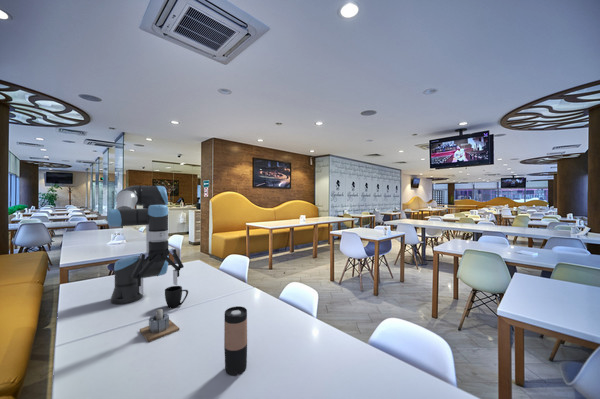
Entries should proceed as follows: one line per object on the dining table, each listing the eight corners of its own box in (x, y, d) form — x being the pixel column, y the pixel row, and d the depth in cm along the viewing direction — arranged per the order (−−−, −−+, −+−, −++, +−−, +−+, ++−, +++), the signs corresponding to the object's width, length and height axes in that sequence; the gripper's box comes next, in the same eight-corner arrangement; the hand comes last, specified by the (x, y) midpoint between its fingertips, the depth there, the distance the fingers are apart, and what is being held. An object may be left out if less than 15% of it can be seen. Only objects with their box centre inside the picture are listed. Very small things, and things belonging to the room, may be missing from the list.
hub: (147, 329, 109) (146, 317, 109) (164, 322, 114) (164, 311, 114) (152, 335, 104) (152, 323, 104) (170, 328, 109) (170, 317, 109)
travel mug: (226, 361, 89) (226, 306, 89) (248, 360, 90) (248, 305, 90) (222, 377, 82) (221, 317, 81) (245, 375, 82) (245, 316, 82)
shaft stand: (139, 331, 109) (139, 310, 109) (168, 320, 118) (168, 302, 118) (148, 342, 101) (148, 320, 101) (179, 330, 110) (179, 310, 110)
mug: (183, 310, 128) (182, 292, 128) (161, 309, 130) (161, 291, 130) (191, 303, 137) (191, 286, 136) (171, 302, 138) (171, 285, 138)
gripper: (127, 246, 97) (127, 300, 97) (191, 237, 115) (191, 283, 116) (121, 243, 102) (122, 294, 102) (184, 235, 120) (184, 279, 121)
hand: (159, 288), depth 109 cm, fingers open, 13 cm apart
